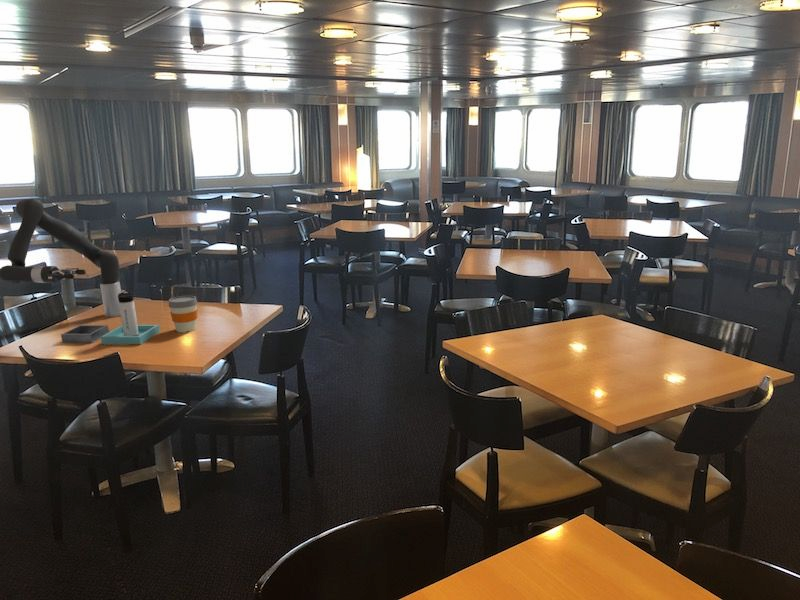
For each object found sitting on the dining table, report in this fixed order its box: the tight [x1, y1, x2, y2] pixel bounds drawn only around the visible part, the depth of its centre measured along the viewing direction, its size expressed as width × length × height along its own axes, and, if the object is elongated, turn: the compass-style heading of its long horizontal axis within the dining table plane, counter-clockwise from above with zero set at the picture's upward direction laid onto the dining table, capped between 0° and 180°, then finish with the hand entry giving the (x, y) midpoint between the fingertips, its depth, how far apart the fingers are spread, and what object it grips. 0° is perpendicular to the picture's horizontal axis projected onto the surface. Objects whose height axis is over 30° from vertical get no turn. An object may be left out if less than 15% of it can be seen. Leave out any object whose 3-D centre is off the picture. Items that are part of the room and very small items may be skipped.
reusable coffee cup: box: [168, 295, 198, 333], centre depth 290 cm, size 13×12×15 cm
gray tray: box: [60, 324, 110, 344], centre depth 283 cm, size 14×14×4 cm
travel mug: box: [118, 292, 139, 336], centre depth 278 cm, size 6×7×20 cm
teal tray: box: [100, 324, 161, 346], centre depth 281 cm, size 18×18×4 cm
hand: (79, 274), depth 276 cm, fingers open, 8 cm apart
